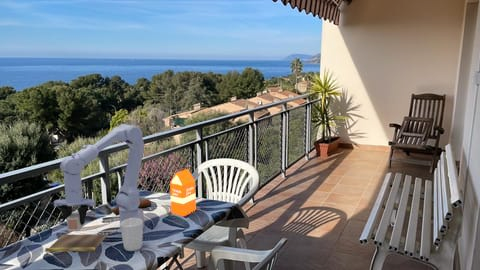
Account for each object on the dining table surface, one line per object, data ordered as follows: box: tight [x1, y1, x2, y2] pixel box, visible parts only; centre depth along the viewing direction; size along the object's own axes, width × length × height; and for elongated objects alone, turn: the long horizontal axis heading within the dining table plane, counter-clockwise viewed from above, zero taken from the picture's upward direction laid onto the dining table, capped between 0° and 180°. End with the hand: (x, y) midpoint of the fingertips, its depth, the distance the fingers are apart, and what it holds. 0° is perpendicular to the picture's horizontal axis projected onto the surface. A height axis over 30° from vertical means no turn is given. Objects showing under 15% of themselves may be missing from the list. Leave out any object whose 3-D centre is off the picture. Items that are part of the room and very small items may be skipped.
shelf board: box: [44, 233, 108, 253], centre depth 143 cm, size 18×14×2 cm
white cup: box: [121, 218, 144, 252], centre depth 139 cm, size 8×8×10 cm
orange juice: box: [169, 168, 197, 217], centre depth 173 cm, size 8×9×20 cm
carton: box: [66, 211, 86, 232], centre depth 139 cm, size 4×6×5 cm, turn 0°
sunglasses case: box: [110, 198, 152, 216], centre depth 179 cm, size 18×7×7 cm
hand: (76, 223), depth 140 cm, fingers closed on carton, 4 cm apart
